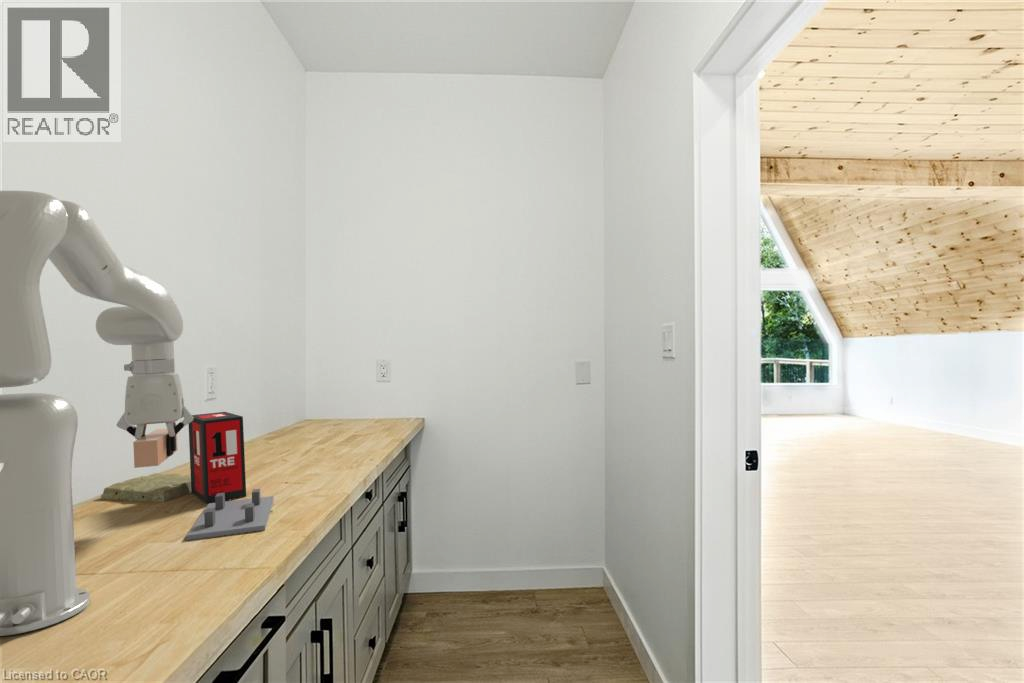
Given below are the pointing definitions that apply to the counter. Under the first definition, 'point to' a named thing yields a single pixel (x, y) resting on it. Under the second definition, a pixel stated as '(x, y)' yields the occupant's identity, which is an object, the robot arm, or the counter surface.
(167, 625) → the counter surface
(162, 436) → the clay strip
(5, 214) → the robot arm
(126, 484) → the decorative tile
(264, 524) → the grey plate with pegs
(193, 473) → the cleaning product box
